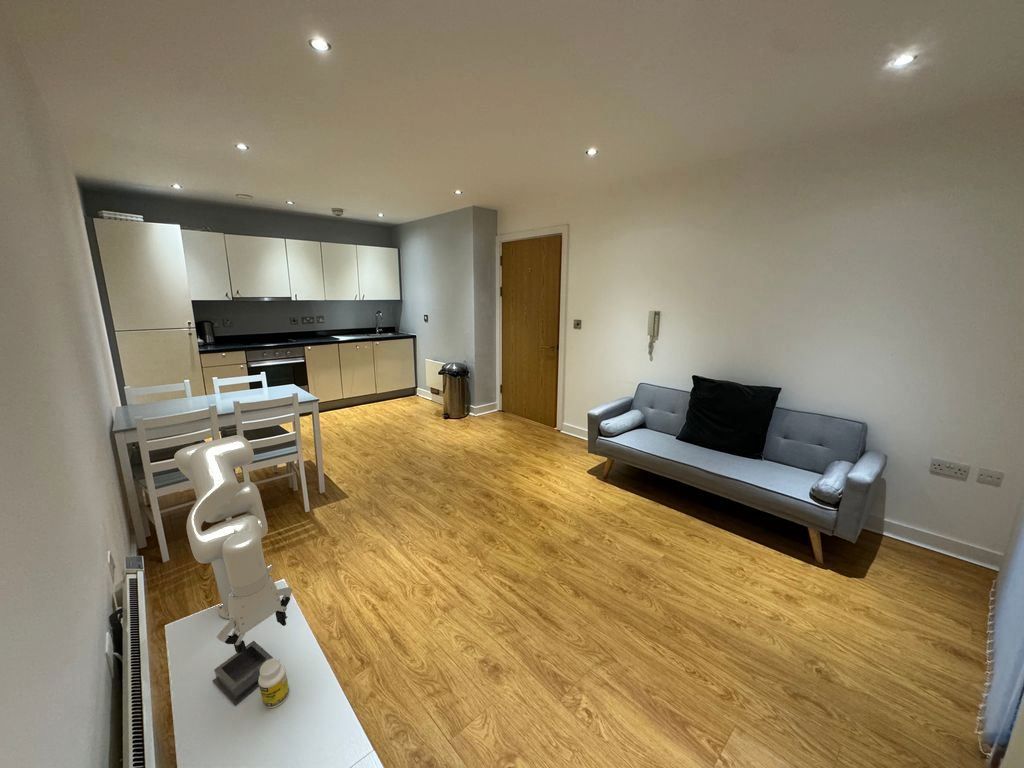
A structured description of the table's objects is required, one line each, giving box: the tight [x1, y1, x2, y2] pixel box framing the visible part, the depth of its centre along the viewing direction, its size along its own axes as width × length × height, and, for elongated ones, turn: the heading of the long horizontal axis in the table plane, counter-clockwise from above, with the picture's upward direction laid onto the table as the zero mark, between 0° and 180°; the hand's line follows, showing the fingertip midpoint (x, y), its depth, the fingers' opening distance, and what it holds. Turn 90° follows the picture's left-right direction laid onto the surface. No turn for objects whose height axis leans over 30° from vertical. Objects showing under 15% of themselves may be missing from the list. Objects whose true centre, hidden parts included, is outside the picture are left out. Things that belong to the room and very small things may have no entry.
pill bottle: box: [258, 657, 290, 709], centre depth 106 cm, size 6×6×11 cm
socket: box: [211, 640, 274, 707], centre depth 113 cm, size 12×12×4 cm
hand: (263, 637), depth 102 cm, fingers open, 9 cm apart
